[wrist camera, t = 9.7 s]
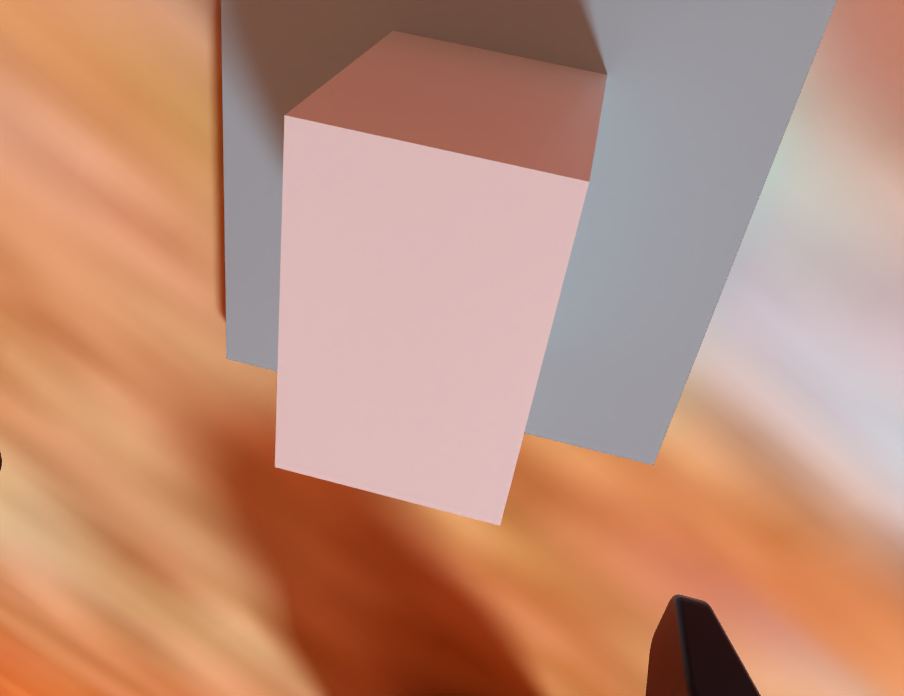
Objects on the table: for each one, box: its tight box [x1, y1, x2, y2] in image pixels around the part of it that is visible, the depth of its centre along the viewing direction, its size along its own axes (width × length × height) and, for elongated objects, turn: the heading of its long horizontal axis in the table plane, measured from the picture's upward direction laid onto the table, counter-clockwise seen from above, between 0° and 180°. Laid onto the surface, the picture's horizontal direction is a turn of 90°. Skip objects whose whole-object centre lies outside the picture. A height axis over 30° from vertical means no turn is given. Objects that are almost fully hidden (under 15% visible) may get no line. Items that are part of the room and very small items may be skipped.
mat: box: [221, 0, 837, 465], centre depth 19 cm, size 12×12×1 cm
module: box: [275, 31, 607, 525], centre depth 16 cm, size 4×7×6 cm, turn 173°
